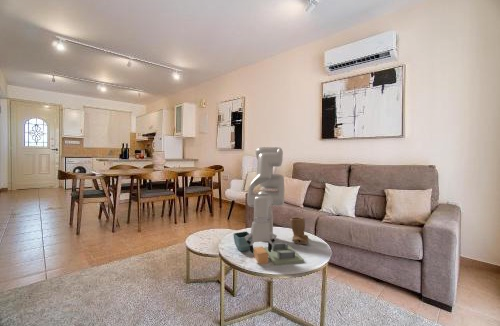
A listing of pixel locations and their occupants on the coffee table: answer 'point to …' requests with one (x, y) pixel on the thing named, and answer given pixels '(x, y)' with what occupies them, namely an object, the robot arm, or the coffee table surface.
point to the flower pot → (241, 241)
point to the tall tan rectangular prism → (260, 255)
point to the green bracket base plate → (283, 254)
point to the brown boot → (298, 230)
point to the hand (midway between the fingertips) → (260, 251)
